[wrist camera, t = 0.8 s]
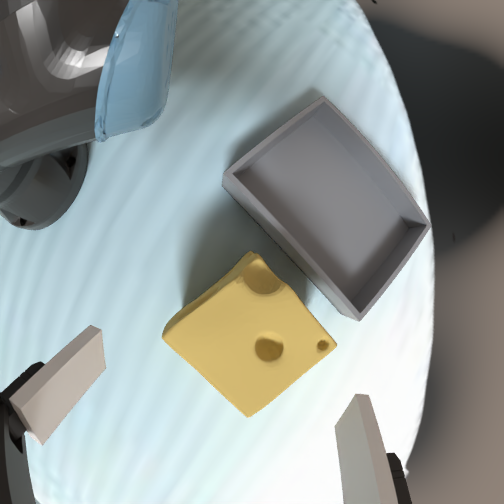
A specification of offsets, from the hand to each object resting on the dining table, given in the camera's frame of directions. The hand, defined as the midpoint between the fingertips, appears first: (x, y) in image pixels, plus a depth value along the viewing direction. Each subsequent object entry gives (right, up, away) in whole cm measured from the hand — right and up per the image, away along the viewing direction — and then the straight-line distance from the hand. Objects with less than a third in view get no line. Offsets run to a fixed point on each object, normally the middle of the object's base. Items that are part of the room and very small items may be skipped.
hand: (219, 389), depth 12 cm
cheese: (+1, -1, +18) cm, 18 cm away
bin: (+11, +12, +19) cm, 25 cm away
